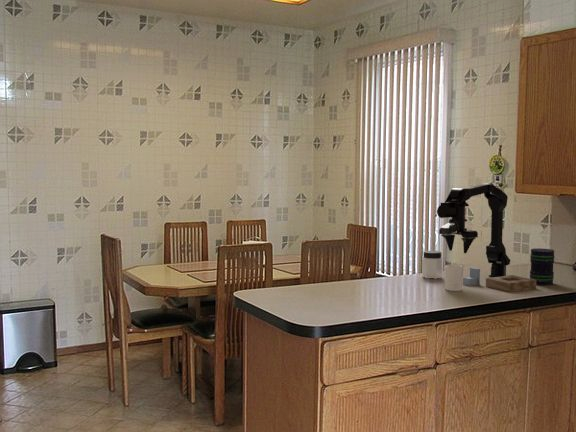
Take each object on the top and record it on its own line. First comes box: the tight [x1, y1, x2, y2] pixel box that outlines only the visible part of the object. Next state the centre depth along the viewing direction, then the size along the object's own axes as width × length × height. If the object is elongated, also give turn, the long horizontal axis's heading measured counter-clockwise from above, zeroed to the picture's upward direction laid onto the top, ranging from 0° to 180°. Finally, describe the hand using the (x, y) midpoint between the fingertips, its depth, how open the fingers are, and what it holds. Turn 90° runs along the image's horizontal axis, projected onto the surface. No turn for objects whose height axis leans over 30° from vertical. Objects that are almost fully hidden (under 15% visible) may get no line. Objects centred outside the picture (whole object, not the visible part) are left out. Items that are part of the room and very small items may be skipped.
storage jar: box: [529, 247, 555, 287], centre depth 277 cm, size 10×10×15 cm
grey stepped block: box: [462, 267, 481, 287], centre depth 275 cm, size 6×4×7 cm, turn 118°
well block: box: [485, 274, 537, 293], centre depth 268 cm, size 16×13×4 cm
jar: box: [421, 250, 443, 280], centre depth 291 cm, size 9×8×12 cm
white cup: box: [443, 264, 465, 292], centre depth 263 cm, size 8×8×10 cm
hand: (457, 251), depth 278 cm, fingers open, 9 cm apart
